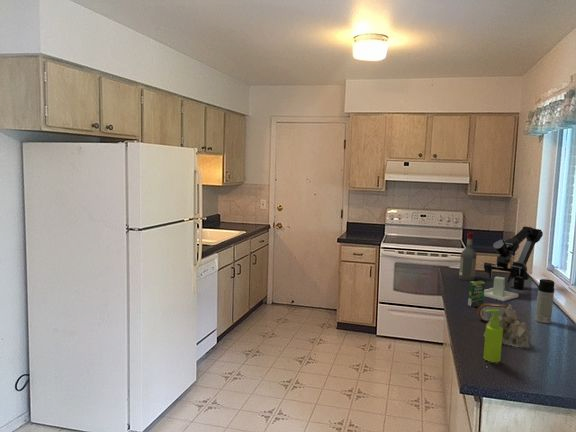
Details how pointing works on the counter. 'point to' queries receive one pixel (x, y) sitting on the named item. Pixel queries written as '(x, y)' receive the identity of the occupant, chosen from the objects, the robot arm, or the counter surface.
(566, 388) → the counter surface
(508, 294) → the tray
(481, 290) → the coffee box
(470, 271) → the liquor
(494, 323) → the soap dispenser
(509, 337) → the grey brown jagged piece
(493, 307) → the tin
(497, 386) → the counter surface
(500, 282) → the block
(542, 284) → the spray can
